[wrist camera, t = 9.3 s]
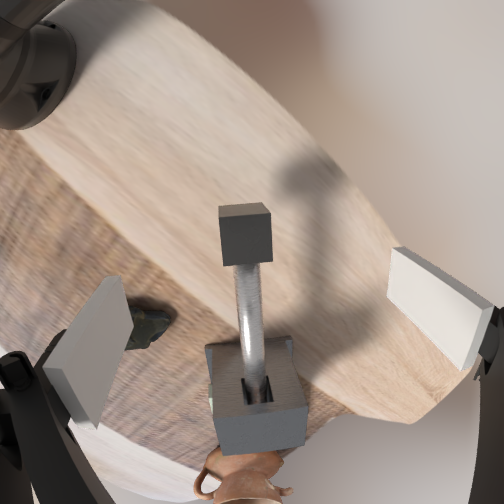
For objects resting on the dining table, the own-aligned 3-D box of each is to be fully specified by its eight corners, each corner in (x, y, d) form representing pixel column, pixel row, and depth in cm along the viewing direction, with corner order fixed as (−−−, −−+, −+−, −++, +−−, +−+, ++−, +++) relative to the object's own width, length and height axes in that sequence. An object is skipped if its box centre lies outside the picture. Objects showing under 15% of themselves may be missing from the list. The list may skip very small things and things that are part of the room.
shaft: (218, 206, 27) (218, 217, 23) (261, 202, 28) (270, 213, 23) (241, 410, 36) (245, 438, 32) (271, 406, 37) (277, 433, 32)
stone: (176, 338, 39) (173, 362, 34) (92, 343, 38) (81, 365, 33) (166, 295, 37) (160, 316, 32) (77, 303, 36) (63, 323, 31)
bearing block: (204, 345, 40) (203, 418, 27) (290, 335, 41) (317, 404, 28) (212, 385, 42) (214, 456, 30) (290, 376, 43) (312, 443, 31)
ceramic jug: (287, 429, 48) (302, 491, 35) (281, 466, 53) (291, 518, 39) (190, 433, 47) (186, 497, 33) (198, 469, 51) (197, 522, 38)
